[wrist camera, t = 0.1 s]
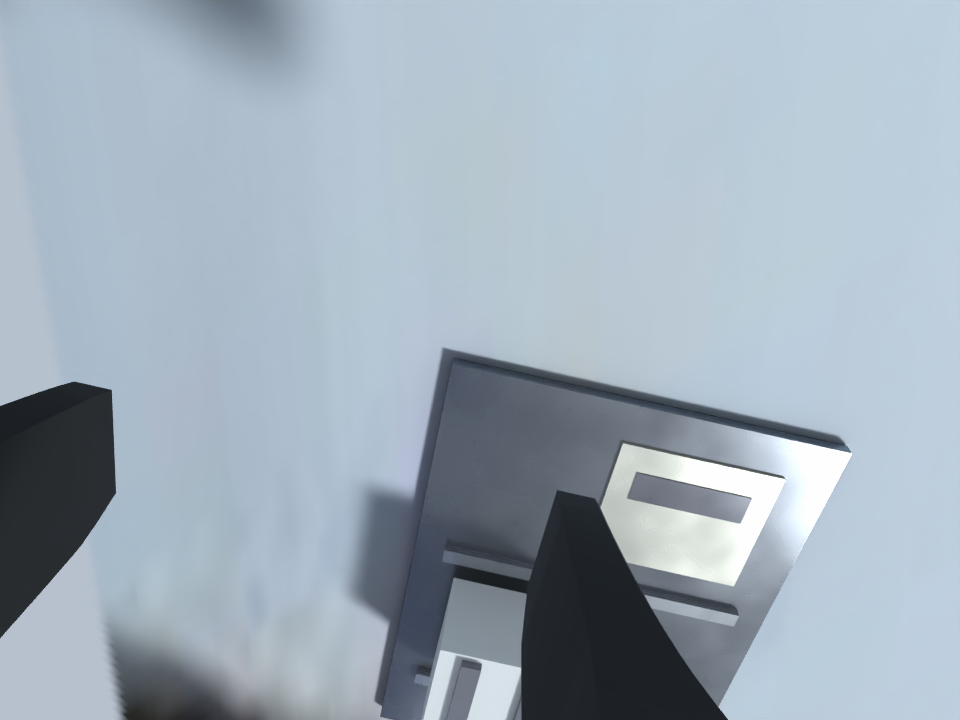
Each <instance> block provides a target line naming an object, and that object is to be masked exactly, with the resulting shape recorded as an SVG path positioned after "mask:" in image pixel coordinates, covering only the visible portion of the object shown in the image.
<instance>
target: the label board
mask: <svg viewBox="0 0 960 720" xmlns="http://www.w3.org/2000/svg"><path fill="white" fill-rule="evenodd" d="M851 454H852V453H851V451H850V450H849V448H848V447H847V446H844V445H840V444H835V443H831V442H826V441H822V440H818V439H813V438H809V437H804V436H800V435H795V434H791V433H786V432H782V431H777V430H773V429H768V428H764V427H759V426H755V425H750V424H746V423H741V422H737V421H732V420H728V419H724V418H719V417H715V416H710V415H706V414H701V413H697V412H692V411H688V410H683V409H679V408H674V407H670V406H665V405H661V404H656V403H652V402H647V401H643V400H638V399H634V398H630V397H625V396H621V395H616V394H612V393H607V392H603V391H598V390H594V389H589V388H585V387H580V386H576V385H571V384H567V383H562V382H558V381H553V380H549V379H544V378H540V377H536V376H531V375H527V374H522V373H518V372H513V371H509V370H504V369H500V368H495V367H491V366H486V365H482V364H477V363H473V362H468V361H464V360H459V359H455V358H454V359H453V362H452V366H451V371H450V376H449V381H448V386H447V391H446V396H445V401H444V406H443V411H442V416H441V420H440V425H439V430H438V435H437V440H436V445H435V450H434V455H433V460H432V465H431V470H430V475H429V479H428V484H427V489H426V494H425V499H424V504H423V509H422V514H421V519H420V524H419V529H418V534H417V538H416V543H415V548H414V553H413V558H412V563H411V568H410V573H409V578H408V583H407V588H406V593H405V597H404V602H403V607H402V612H401V617H400V622H399V627H398V632H397V637H396V642H395V647H394V652H393V656H392V661H391V666H390V671H389V676H388V681H387V686H386V691H385V696H384V701H383V706H382V710H381V715H380V717H384V718H388V719H393V720H421V719H422V714H423V709H424V703H425V698H426V693H427V688H428V683H429V678H430V674H431V670H432V665H433V661H434V657H435V653H436V649H437V645H438V641H439V637H440V632H441V628H442V624H443V620H444V616H445V612H446V608H447V603H448V599H449V595H450V591H451V587H452V583H453V579H454V578H458V579H462V580H467V581H471V582H476V583H480V584H484V585H489V586H493V587H498V588H502V589H507V590H511V591H516V592H520V593H525V594H527V587H528V583H529V579H530V576H531V573H532V570H533V566H534V563H535V560H536V557H537V553H538V550H539V547H540V544H541V541H542V537H543V534H544V531H545V528H546V524H547V521H548V518H549V515H550V511H551V508H552V505H553V502H554V498H555V495H556V492H557V490H559V491H564V492H568V493H573V494H577V495H582V496H586V497H591V498H595V499H596V501H597V503H598V504H599V506H600V508H601V510H602V512H603V515H604V517H605V519H606V521H607V523H608V525H609V528H610V530H611V532H612V534H613V536H614V538H615V540H616V542H617V544H618V546H619V548H620V550H621V552H622V554H623V556H624V558H625V560H626V562H627V564H628V566H629V568H630V570H631V572H632V574H633V576H634V577H635V579H636V581H637V583H638V585H639V586H640V588H641V590H642V592H643V594H644V595H645V597H646V599H647V601H648V603H649V604H650V606H651V608H652V610H653V611H654V613H655V615H656V616H657V618H658V620H659V621H660V623H661V625H662V626H663V628H664V630H665V631H666V633H667V634H668V636H669V638H670V639H671V641H672V642H673V644H674V645H675V647H676V649H677V650H678V652H679V653H680V655H681V656H682V658H683V659H684V661H685V662H686V664H687V665H688V667H689V668H690V670H691V671H692V673H693V674H694V675H695V677H696V678H697V679H698V681H699V682H700V683H701V685H702V686H703V687H704V689H705V690H706V691H707V693H708V694H709V695H710V697H711V698H712V699H713V701H714V702H715V703H716V705H717V706H719V704H720V703H721V701H722V699H723V697H724V695H725V693H726V691H727V689H728V687H729V685H730V684H731V682H732V680H733V678H734V676H735V674H736V672H737V670H738V668H739V667H740V665H741V663H742V661H743V659H744V657H745V655H746V653H747V651H748V649H749V648H750V646H751V644H752V642H753V640H754V638H755V636H756V634H757V632H758V631H759V629H760V627H761V625H762V623H763V621H764V619H765V617H766V615H767V614H768V612H769V610H770V608H771V606H772V604H773V602H774V600H775V598H776V596H777V595H778V593H779V591H780V589H781V587H782V585H783V583H784V581H785V579H786V578H787V576H788V574H789V572H790V570H791V568H792V566H793V564H794V562H795V560H796V559H797V557H798V555H799V553H800V551H801V549H802V547H803V545H804V543H805V542H806V540H807V538H808V536H809V534H810V532H811V530H812V528H813V526H814V525H815V523H816V521H817V519H818V517H819V515H820V513H821V511H822V509H823V507H824V506H825V504H826V502H827V500H828V498H829V496H830V494H831V492H832V490H833V489H834V487H835V485H836V483H837V481H838V479H839V477H840V475H841V473H842V471H843V470H844V468H845V466H846V464H847V462H848V460H849V458H850V456H851Z"/></svg>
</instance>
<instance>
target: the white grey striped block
mask: <svg viewBox="0 0 960 720" xmlns="http://www.w3.org/2000/svg"><path fill="white" fill-rule="evenodd" d="M526 596H527V594H525V593H520V592H516V591H511V590H507V589H502V588H498V587H493V586H489V585H484V584H480V583H476V582H471V581H467V580H462V579H458V578H454V579H453V583H452V587H451V591H450V595H449V599H448V603H447V608H446V612H445V616H444V620H443V624H442V628H441V632H440V637H439V641H438V645H437V649H436V653H435V657H434V661H433V665H432V670H431V674H430V678H429V683H428V688H427V693H426V698H425V703H424V709H423V714H422V719H421V720H521V641H522V632H523V622H524V613H525V604H526Z"/></svg>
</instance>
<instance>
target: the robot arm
mask: <svg viewBox="0 0 960 720" xmlns="http://www.w3.org/2000/svg"><path fill="white" fill-rule="evenodd" d="M115 493H116V483H115V459H114V435H113V410H112V390H109V389H105V388H100V387H96V386H92V385H87V384H83V383H78V382H71V383H67V384H64V385H60V386H57V387H54V388H51V389H48V390H45V391H42V392H39V393H36V394H33V395H30V396H27V397H24V398H22V399H19V400H16V401H13V402H10V403H7V404H5V405H2V406H0V638H1V637H2V636H3V634H4V633H5V632H6V631H7V630H8V629H9V628H10V626H11V625H12V624H13V623H14V622H15V621H16V620H17V619H18V617H19V616H20V615H21V614H22V613H23V612H24V611H25V609H26V608H27V607H28V606H29V605H30V604H31V603H32V602H33V600H34V599H35V598H36V597H37V596H38V595H39V594H40V593H41V591H42V590H43V589H44V588H45V587H46V585H48V583H49V582H50V581H51V580H52V579H53V578H54V576H55V575H56V574H57V573H58V572H59V570H61V568H62V567H63V566H64V565H65V564H66V563H67V562H68V560H69V559H70V558H71V557H72V556H73V554H74V553H75V552H76V551H77V550H78V548H79V547H80V546H81V545H82V543H83V542H84V540H85V539H86V538H87V536H88V535H89V533H90V532H91V530H92V529H93V527H94V526H95V525H96V523H97V522H98V520H99V518H100V517H101V515H102V514H103V512H104V511H105V509H106V507H107V506H108V504H109V503H110V501H111V500H112V498H113V497H114V495H115ZM521 720H728V719H727V718H726V717H725V715H724V714H723V713H722V711H721V710H720V709H719V707H718V706H717V705H716V703H715V702H714V701H713V699H712V698H711V697H710V695H709V694H708V693H707V691H706V690H705V689H704V687H703V686H702V685H701V683H700V682H699V681H698V679H697V678H696V677H695V675H694V674H693V673H692V671H691V670H690V668H689V667H688V665H687V664H686V662H685V661H684V659H683V658H682V656H681V655H680V653H679V652H678V650H677V649H676V647H675V645H674V644H673V642H672V641H671V639H670V638H669V636H668V634H667V633H666V631H665V630H664V628H663V626H662V625H661V623H660V621H659V620H658V618H657V616H656V615H655V613H654V611H653V610H652V608H651V606H650V604H649V603H648V601H647V599H646V597H645V595H644V594H643V592H642V590H641V588H640V586H639V585H638V583H637V581H636V579H635V577H634V576H633V574H632V572H631V570H630V568H629V566H628V564H627V562H626V560H625V558H624V556H623V554H622V552H621V550H620V548H619V546H618V544H617V542H616V540H615V538H614V536H613V534H612V532H611V530H610V528H609V525H608V523H607V521H606V519H605V517H604V515H603V512H602V510H601V508H600V506H599V504H598V503H597V501H596V499H595V498H591V497H586V496H582V495H577V494H573V493H568V492H564V491H559V490H557V492H556V495H555V498H554V502H553V505H552V508H551V511H550V515H549V518H548V521H547V524H546V528H545V531H544V534H543V537H542V541H541V544H540V547H539V550H538V553H537V557H536V560H535V563H534V566H533V570H532V573H531V576H530V579H529V583H528V587H527V596H526V604H525V613H524V622H523V632H522V641H521Z"/></svg>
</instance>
